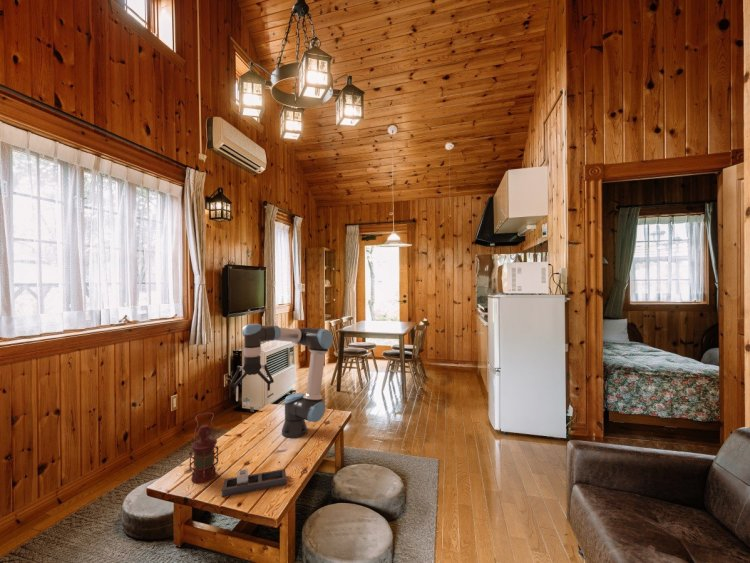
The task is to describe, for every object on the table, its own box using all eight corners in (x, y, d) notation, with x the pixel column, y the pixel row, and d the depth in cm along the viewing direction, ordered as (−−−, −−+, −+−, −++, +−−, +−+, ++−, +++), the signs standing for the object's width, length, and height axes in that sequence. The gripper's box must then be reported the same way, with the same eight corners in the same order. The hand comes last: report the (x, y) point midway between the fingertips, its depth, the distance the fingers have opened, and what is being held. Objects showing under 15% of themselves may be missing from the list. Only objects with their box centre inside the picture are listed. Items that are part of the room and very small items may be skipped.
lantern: (188, 487, 147) (189, 420, 148) (189, 473, 158) (190, 410, 159) (218, 480, 153) (219, 415, 153) (217, 467, 164) (218, 406, 164)
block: (248, 484, 150) (248, 468, 150) (247, 490, 145) (248, 473, 146) (237, 486, 148) (237, 469, 148) (236, 492, 144) (237, 475, 144)
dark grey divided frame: (284, 475, 157) (285, 468, 157) (286, 485, 149) (286, 478, 149) (224, 486, 148) (224, 479, 148) (222, 497, 140) (222, 490, 141)
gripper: (278, 352, 170) (278, 393, 170) (225, 355, 162) (225, 399, 161) (279, 355, 163) (278, 398, 163) (223, 358, 155) (223, 404, 154)
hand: (252, 398), depth 162 cm, fingers open, 13 cm apart
